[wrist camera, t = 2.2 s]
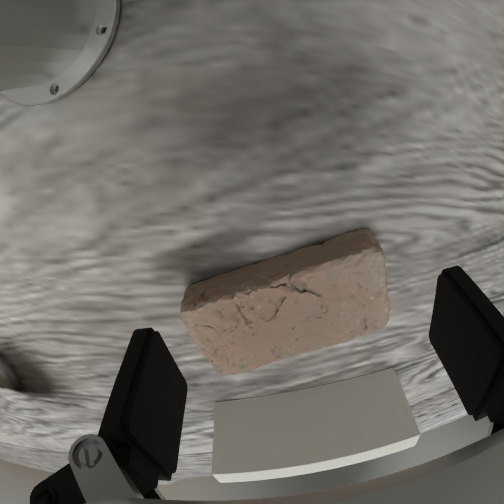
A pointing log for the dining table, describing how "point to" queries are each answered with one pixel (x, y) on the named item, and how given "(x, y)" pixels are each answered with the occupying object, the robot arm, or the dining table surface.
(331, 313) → the brick
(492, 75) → the dining table surface
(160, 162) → the dining table surface
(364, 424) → the grey bookend
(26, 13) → the robot arm
